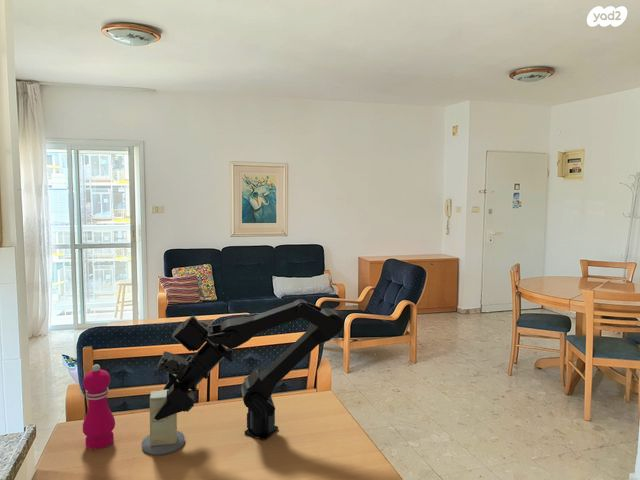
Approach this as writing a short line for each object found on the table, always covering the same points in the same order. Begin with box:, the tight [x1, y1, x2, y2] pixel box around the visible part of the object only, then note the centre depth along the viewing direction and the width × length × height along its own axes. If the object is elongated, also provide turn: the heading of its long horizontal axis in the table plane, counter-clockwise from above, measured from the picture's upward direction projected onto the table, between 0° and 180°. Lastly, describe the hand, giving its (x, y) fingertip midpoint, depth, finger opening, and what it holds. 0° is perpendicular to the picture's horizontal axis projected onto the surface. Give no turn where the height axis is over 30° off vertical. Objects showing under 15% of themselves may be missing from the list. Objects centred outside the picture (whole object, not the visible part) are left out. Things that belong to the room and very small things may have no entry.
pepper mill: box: [82, 363, 116, 450], centre depth 116 cm, size 7×7×20 cm
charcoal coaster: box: [141, 430, 186, 456], centre depth 117 cm, size 10×10×1 cm
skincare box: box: [149, 389, 178, 446], centre depth 116 cm, size 6×4×12 cm
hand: (157, 409), depth 116 cm, fingers open, 9 cm apart
